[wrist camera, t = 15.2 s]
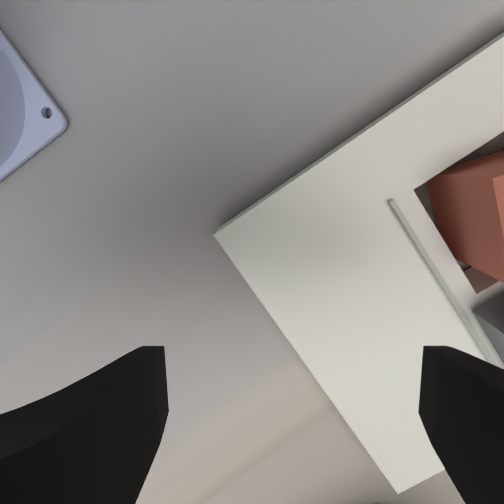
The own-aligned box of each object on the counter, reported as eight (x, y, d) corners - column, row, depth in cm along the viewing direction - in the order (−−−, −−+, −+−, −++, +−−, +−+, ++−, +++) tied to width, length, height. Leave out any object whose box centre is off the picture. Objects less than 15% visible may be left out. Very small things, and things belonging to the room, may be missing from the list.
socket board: (220, 226, 20) (212, 236, 18) (512, 26, 18) (557, 0, 15) (383, 458, 23) (400, 500, 20) (660, 309, 20) (723, 333, 18)
